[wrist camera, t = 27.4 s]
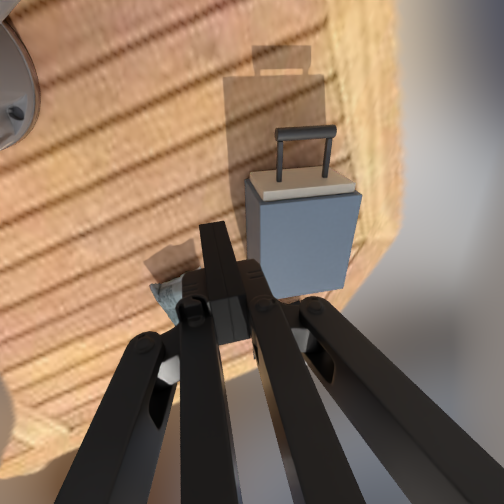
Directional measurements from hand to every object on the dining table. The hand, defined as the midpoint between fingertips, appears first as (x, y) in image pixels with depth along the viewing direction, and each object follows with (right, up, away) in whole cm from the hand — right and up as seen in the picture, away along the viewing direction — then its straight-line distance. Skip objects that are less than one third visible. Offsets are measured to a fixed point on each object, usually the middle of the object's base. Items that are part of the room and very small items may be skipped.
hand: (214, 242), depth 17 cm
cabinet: (+8, +4, +27) cm, 28 cm away
